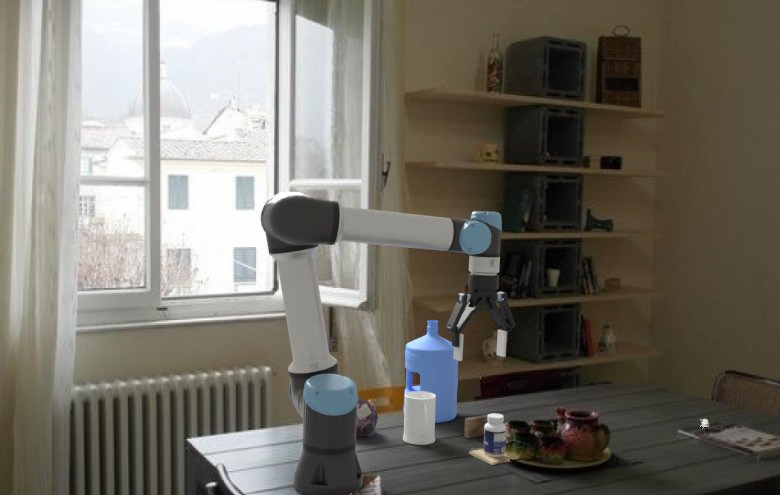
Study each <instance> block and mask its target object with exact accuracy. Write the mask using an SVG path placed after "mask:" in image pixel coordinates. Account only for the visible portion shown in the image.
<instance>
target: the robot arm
mask: <svg viewBox="0 0 780 495" xmlns="http://www.w3.org/2000/svg"><path fill="white" fill-rule="evenodd" d="M502 222H503V221H502V214H501V213H499V212H497V211H476V210H475V211H472V213H471V216H470V218H452V217H451V218H450V217H443V216H435V215H433V216H432V215H427V214H426V215H424V214H415V213H414V214H413V213H407V212H406V213H405V212H398V211H397V212H396V211H390V210H389V211H388V210H378V209H371V208H360V207H351V206H343V205H342V204H341V202H339V200H330V199H324V198H320V197H316V196H313V195H309V194H306V193H302V192H298V191H297V192H296V191H282V192H278V193H276V194H274V195H272V196H271V197H270V198H268V200H267V201H265V203H264V205H263V207H262V209H261V213H260V224H261V228H262V229H263V231H264V233H265V237H266V244H267V250H268V254H269V255H270V257H272V258H273V259H274V260H275V261H276V264H277V270H278V276H279V281H280V282H279V283H280V288H281V293H282V299H283V305H284V313H285V318H286V324H287V331H288V337H289V344H290V348H291V355H292V361H291V363H290V364H289V365H288V367H287V371H288V378H289V387H288V389H289V391H288V395H289V400H290V402H291V405H292V406H293V408H294V409H295V410H296V411H297V414H299V416H300V417H301V419H302V425H303V426H302V451H301V454H300V457H299V459H298V462H297V463H298V464H297V466H296V468H295V472H294V476H293V487H294V489H295V490H296V491H297V492H299V493H301V494H303V495H349V494H351V493H354V492H356V491H357V490H359V489H360V488H361V487H362V488H363V486H362V485H364V475H363V474H364V473H363V471H362V468H361V464H360V461H359V457H358V454H357V436H356V423H357V402H358V399H359V394H358V389H357V388H358V387H357V385H356V383H355V382H354V380H352V379H351V378H350V377H348V376H343V375H342V374H340V372H339V365H338V360H337V358H335V357H334V356H333V355H331V354H330V350H329V343H328V338H327V330H326V324H325V318H324V317H325V316H324V311H323V305H322V298H321V293H320V286H319V279H318V273H317V268H316V260H315V254H316V252H317V250H318V249H319V247H320V245H325V246H327V245H328V246H335V245H336V244H337V243H340V242H345V243H346V242H347V243H355V244H368V245H378V246H389V247H401V248H408V249H409V248H411V249H423V250H434V251H443V252H445V251H446V252H453V253H463V254H467V255H469V258H468V259H469V260H468V271H469V272H470V273H469V274H468V281H467V282H468V283H467V287H468V290H469V291H468V294H467V293H462V292H458V294H457V300H456V303H455V305H454V307H453V310H452V312H451V314H450V317H449V319H448V321H447V324H446V325H445V328H444V330H445V331H448V332H450V333H451V336H452V337H451V342H452V346H454V356H453V359H455V360H458V362H462V361H463V358H464V357H463V354H464V353H463V352H464V336H465V335H464V334H463V333H462V332H463V331H464V329H465V328H466V326H467V325H468V323H469V322H470V320H471V319H472V318H473V317H474V315H475V314H477V313H478V312H484V311H485V312H489V313H490V314H491V316H492V317H493V319H494V321H495V322H496V323H497V326H498V327H499V328H500V329H497V338H496V339H497V340H496V356H498V357H502V358H506V356H507V355H506V354H507V344H508V343H509V332H512V331H513V329H515V328H516V325H517V324H516V322H515V319H514V317H513V314H512V311H511V308H510V304H509V301H508V293H507V292H505V291H498V289H499V286H500V285H499V284H500V282H499V281H500V276H499V275H498V273H500V265H501V264H500V262H501V260H500V259H501V240H502V239H501V238H502V232H503V230H502ZM497 291H498V292H497ZM497 303H498V304H497ZM499 309H500V310H499ZM362 488H361V489H362ZM361 489H360V490H361ZM360 490H359V491H360ZM356 493H357V492H356ZM354 494H355V493H354ZM351 495H352V494H351Z"/></svg>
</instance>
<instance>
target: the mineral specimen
mask: <svg viewBox="0 0 780 495" xmlns="http://www.w3.org/2000/svg"><path fill="white" fill-rule="evenodd" d="M378 417H379V416H378V413H377V409H376V405H375V403H373V402H370V401H368V400H366V399H364V398H358V402H357V423H356V437H368V436H372V435H373V434H374V433H375V430H376V427H377V422H378V419H379V418H378Z"/></svg>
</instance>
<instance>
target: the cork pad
mask: <svg viewBox="0 0 780 495" xmlns="http://www.w3.org/2000/svg"><path fill="white" fill-rule="evenodd" d="M468 455H471V456H473V457H474V458H477V459H479V460H481V461H483V462H485V463H486V464H489V465H492V466H494V465H500V464H504V463H508V462H511V461H510V459H509V458H506V457H504V456H502V457H490V456H487V455H485V454H484V448H481V449H475V450H471V451H470V450H469V451H468Z"/></svg>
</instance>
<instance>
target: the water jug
mask: <svg viewBox="0 0 780 495" xmlns="http://www.w3.org/2000/svg"><path fill="white" fill-rule="evenodd" d="M426 323H427V326H426V329H427V330H426V331H427V332H426V334H425V335H423V336H421V337H418V338H416V339H414V340H412V341H409V342H407V343H406V344H405V351H404V360H405V362H404V367H405V369H406V372H405V373H406V376H405V377H406V378H405V382H406V383H405V389H404V393H403V394H404V396H403V408H402V410H403V411H402V412H403V415H404V414H405V394H406V393H408V392H413V391H423V392H430V393H433V394H435V395H436V403H435V424H436V423H437V424H439V423H440V424H441V422H442V423H447V422H450V421H452V420H454V419H455V418H456V417H457V413H458V410H457V409H458V408H457V405H458V404H457V402H458V400H457V398H458V396H457V395H458V387H459V386H458V384H459V382H458V381H459V380H458V376H459V374H458V373H459V372H458V371H459V370H458V368H459V367H458V366H459V361H458V360H455V359H453V356H454V346H452V341H450V340H448V339H446V338H444V337H442V336H440V334H439V332H438V330H439V324H438V323H439V321H438V320H435V319H432V320H427V322H426ZM413 373H416V374H417V373H418V374H419V376H420V379H419V382H420V383H419V385H413Z"/></svg>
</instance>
